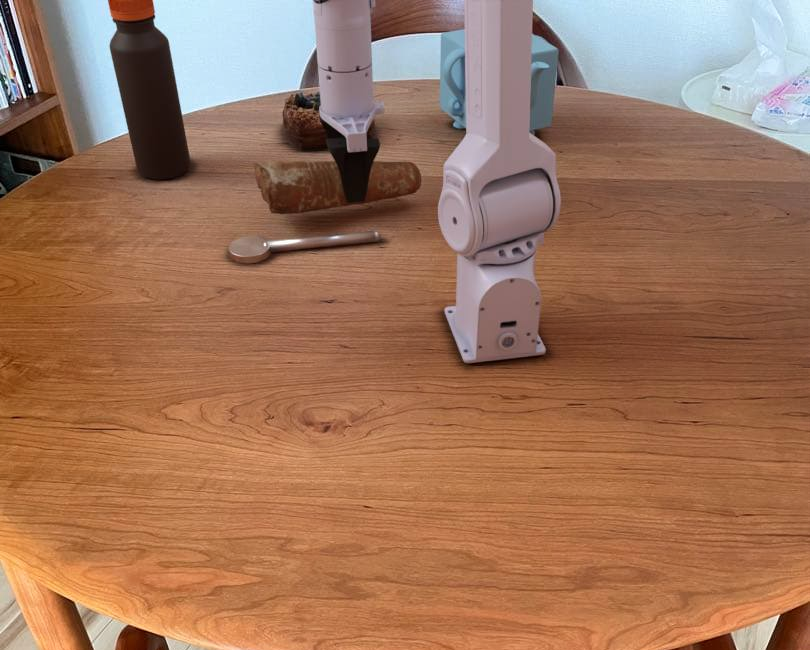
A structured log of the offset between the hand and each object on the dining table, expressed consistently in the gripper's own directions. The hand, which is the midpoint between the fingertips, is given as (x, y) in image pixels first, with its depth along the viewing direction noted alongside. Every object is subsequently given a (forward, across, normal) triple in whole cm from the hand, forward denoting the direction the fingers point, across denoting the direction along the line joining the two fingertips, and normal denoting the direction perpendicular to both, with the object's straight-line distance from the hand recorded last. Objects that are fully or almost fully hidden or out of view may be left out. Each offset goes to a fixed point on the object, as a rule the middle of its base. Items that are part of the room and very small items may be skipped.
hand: (352, 189), depth 105 cm
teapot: (+3, +18, -23) cm, 29 cm away
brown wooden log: (+2, +1, +1) cm, 2 cm away
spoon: (+3, -7, +7) cm, 10 cm away
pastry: (+3, +24, 0) cm, 24 cm away
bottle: (+3, +17, +22) cm, 28 cm away
